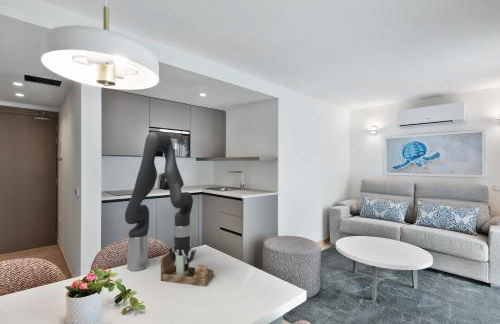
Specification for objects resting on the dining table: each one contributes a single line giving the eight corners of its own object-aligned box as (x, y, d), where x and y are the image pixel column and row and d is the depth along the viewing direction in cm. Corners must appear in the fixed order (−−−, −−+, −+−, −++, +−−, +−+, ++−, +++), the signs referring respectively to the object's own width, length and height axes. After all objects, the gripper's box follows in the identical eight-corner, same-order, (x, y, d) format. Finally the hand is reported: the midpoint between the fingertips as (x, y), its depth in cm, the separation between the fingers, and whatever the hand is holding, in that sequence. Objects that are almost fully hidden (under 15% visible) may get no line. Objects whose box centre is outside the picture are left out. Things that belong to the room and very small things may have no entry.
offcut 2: (193, 282, 114) (193, 275, 114) (199, 276, 120) (199, 270, 120) (203, 283, 113) (203, 277, 113) (208, 277, 119) (208, 271, 119)
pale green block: (176, 277, 117) (176, 256, 117) (181, 272, 122) (181, 252, 122) (182, 278, 116) (182, 257, 116) (188, 273, 121) (188, 253, 121)
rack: (160, 283, 116) (160, 257, 116) (173, 273, 126) (173, 249, 126) (204, 289, 110) (204, 261, 110) (213, 278, 121) (213, 253, 121)
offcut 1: (194, 275, 114) (194, 269, 114) (198, 271, 119) (198, 264, 119) (204, 276, 114) (204, 269, 114) (207, 271, 119) (207, 265, 119)
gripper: (164, 235, 117) (164, 271, 117) (192, 237, 113) (192, 275, 114) (173, 231, 124) (173, 265, 124) (199, 233, 121) (199, 268, 121)
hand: (182, 269), depth 119 cm, fingers closed on pale green block, 3 cm apart
